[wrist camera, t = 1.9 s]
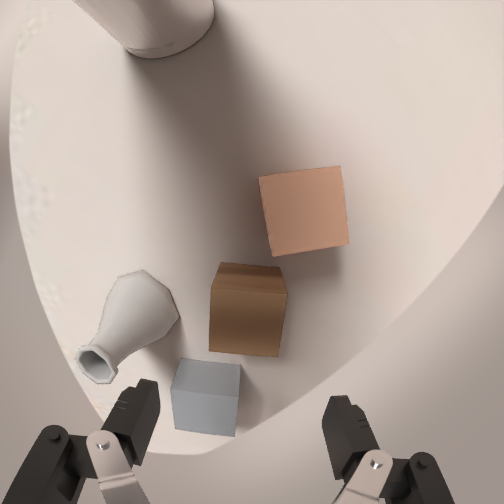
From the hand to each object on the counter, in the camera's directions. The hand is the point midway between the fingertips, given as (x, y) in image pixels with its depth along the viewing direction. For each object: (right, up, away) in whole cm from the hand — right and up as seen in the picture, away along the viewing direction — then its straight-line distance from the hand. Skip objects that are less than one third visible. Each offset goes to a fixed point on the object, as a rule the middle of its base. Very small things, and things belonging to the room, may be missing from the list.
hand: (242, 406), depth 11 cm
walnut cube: (0, +3, +13) cm, 14 cm away
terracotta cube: (+4, +11, +11) cm, 16 cm away
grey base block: (-4, -7, +16) cm, 18 cm away
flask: (-10, +2, +14) cm, 17 cm away
